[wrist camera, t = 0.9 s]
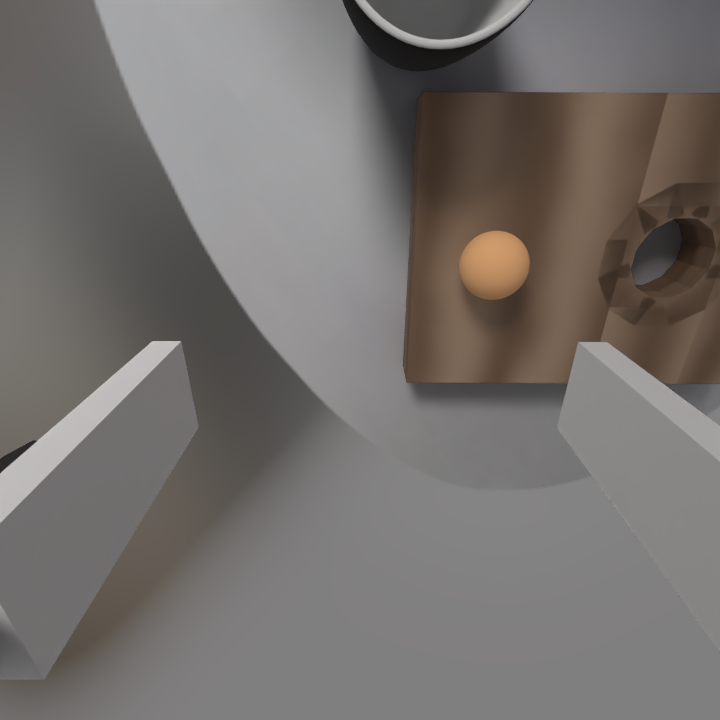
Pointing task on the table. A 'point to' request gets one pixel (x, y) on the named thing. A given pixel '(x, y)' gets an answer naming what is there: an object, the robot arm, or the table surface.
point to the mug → (430, 28)
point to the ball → (494, 265)
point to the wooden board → (564, 233)
